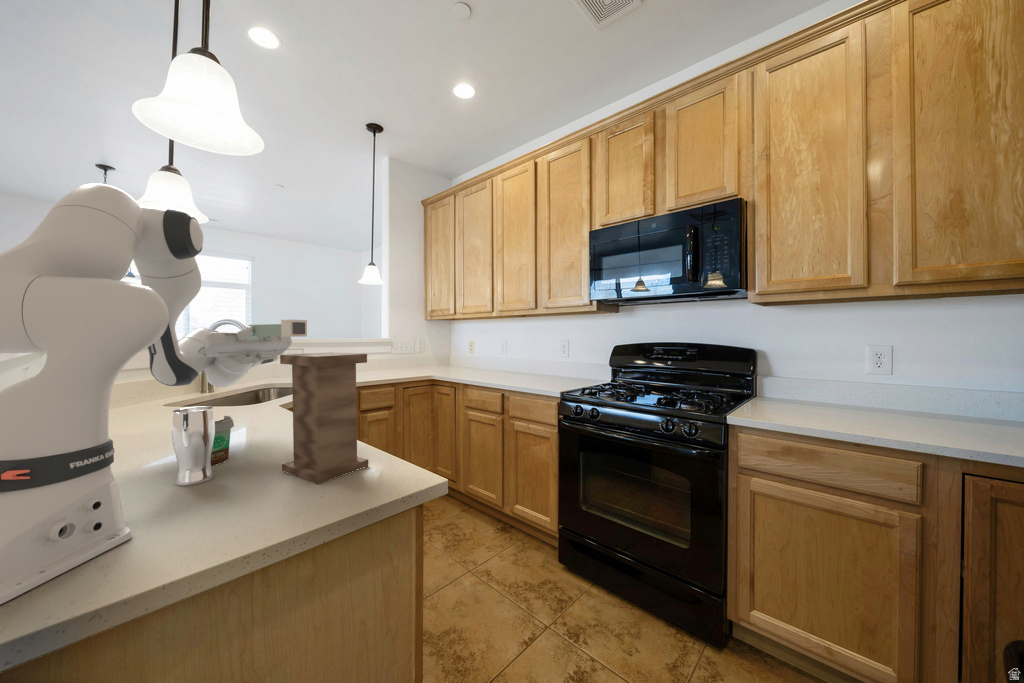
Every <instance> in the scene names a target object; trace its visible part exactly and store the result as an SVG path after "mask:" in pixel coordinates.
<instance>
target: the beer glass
mask: <svg viewBox="0 0 1024 683" xmlns="http://www.w3.org/2000/svg"><path fill="white" fill-rule="evenodd" d="M171 413H172V415H171V428H170V429H171V441H172V446H173V450H174V454H175V458H176V462H177V473H176V478H175V485H176V486H178V487H179V486H180V487H186V486H187V487H188V486H194V485H200V484H202V483H206V482H208V481H210V480H212V479H213V478H214V471H213V468H212V467H213V466H211V453H212V447H213V442H214V436H215V412H214V407H213V406H209V405H208V406H207V405H205V406H204V405H203V406H190V407H183V408H177V409H174V410H173V411H171Z"/></svg>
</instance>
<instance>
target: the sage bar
mask: <svg viewBox="0 0 1024 683" xmlns="http://www.w3.org/2000/svg"><path fill="white" fill-rule="evenodd" d="M248 326H251V327H255V330H256V332H255V333H254V335H249V336H282V337H291V338H292V337H297V338H299V337H308V320H307V319H280V323H275V324H274V323H273V324H272V323H271V324H268V323H267V324H265V323H263V324H248Z"/></svg>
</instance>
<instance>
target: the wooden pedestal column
mask: <svg viewBox="0 0 1024 683" xmlns="http://www.w3.org/2000/svg"><path fill="white" fill-rule="evenodd" d="M279 360H280V361H279V362H280V363H279V364H280V365H291V372H292V373H291V376H292V377H291V381H292V385H291V386H292V390H291V391H292V430H293V432H292V434H293V435H292V436H293V437H292V438H293V441H292V442H293V460H291V461H288V462H283V463H281V470H282V471H281V472H283V471H285V472H284V473H286V472H288V473H287V474H289V473H290V474H289V475H291V474H293V475H292V476H294V475H296V476H295V477H297V476H298V477H297V478H299V477H301V478H300V479H302V478H303V480H305V479H306V480H305V481H308V480H309V481H308V482H310V481H311V482H310V483H313V482H314V483H313V484H316V483H317V484H316V485H319V483H320V484H323V483H325V481H326V482H328V480H329V481H331V480H330V479H332V480H334V479H336V478H335V477H337V478H339V477H338V476H340V477H342V476H341V475H343V474H346V473H349V472H351V473H353V472H352V471H354V472H356V471H355V470H357V469H360V468H363V467H366V466H368V467H369V459H368V458H364V457H362V456H358V430H357V429H358V427H357V426H358V425H357V424H358V420H357V419H358V418H357V417H358V415H357V411H358V409H357V364H366V363H368V354H367V353H360V352H359V353H355V352H354V353H351V352H332V351H331V352H330V351H328V352H313V353H294V354H293V353H291V354H281V355H279ZM366 468H367V467H366ZM363 469H364V468H363ZM360 470H361V469H360ZM357 471H358V470H357ZM349 474H350V473H349ZM346 475H347V474H346ZM343 476H344V475H343ZM333 478H334V479H333ZM322 482H323V483H322Z"/></svg>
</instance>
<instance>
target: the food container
mask: <svg viewBox="0 0 1024 683" xmlns="http://www.w3.org/2000/svg"><path fill="white" fill-rule="evenodd" d="M234 427H235V423H234V419H232V417H231V416H229V415H224V416H223V419H220V420H216V421H215V436H214V442H213V447H212V453H211V467H214V466H217V465H216V464H218V465H220V464H219V463H221V464H223V463H225V462H227V461H228V460H229V457H230V456H229V453H230V443H231V442H230V441H231V433H232V432H231V429H232V428H234ZM227 459H228V460H227ZM226 460H227V461H226ZM224 461H225V462H224ZM222 462H223V463H222ZM213 465H214V466H213Z"/></svg>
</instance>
